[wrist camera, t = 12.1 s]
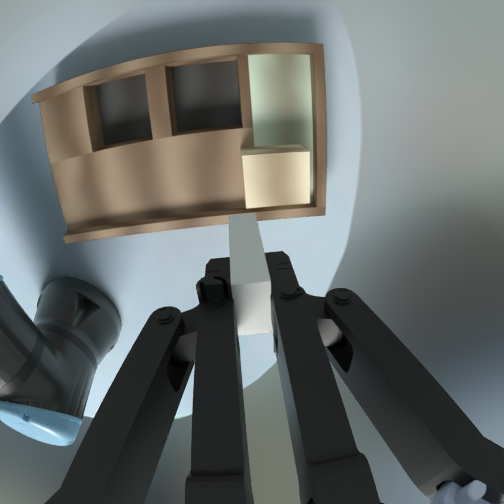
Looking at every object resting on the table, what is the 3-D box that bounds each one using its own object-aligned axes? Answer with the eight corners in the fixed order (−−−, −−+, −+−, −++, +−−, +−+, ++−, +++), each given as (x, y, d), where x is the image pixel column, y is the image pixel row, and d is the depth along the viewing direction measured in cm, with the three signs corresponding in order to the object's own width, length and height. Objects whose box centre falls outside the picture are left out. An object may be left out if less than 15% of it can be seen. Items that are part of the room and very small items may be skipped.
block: (243, 194, 31) (246, 208, 27) (240, 147, 28) (242, 155, 25) (300, 190, 31) (309, 203, 28) (299, 144, 29) (309, 151, 25)
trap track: (82, 223, 35) (65, 243, 30) (55, 92, 26) (31, 95, 21) (312, 197, 36) (325, 215, 31) (308, 51, 27) (322, 44, 22)
